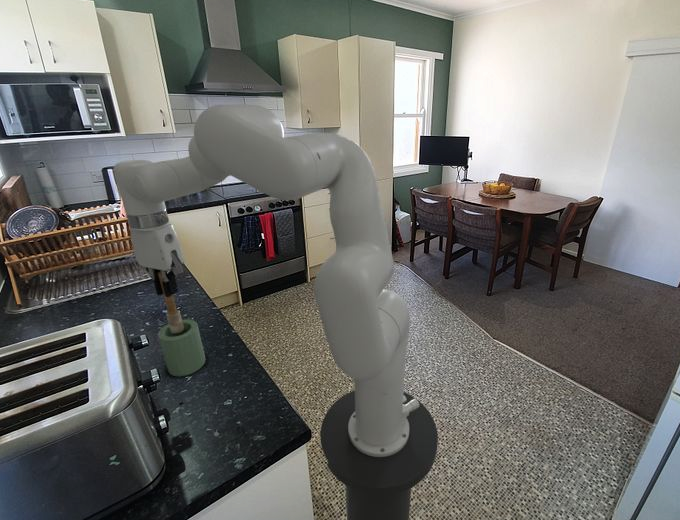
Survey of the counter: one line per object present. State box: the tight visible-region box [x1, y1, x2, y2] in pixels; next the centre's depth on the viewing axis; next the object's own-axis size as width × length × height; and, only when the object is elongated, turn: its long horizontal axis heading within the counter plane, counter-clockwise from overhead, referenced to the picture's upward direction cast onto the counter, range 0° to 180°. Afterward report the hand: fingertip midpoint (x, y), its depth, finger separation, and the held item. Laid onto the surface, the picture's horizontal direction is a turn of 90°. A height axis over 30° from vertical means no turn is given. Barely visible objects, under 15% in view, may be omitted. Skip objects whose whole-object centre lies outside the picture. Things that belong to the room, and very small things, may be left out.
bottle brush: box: [158, 271, 184, 333], centre depth 83 cm, size 3×3×16 cm
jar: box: [157, 318, 206, 377], centre depth 88 cm, size 9×9×11 cm
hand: (167, 293), depth 82 cm, fingers closed on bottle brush
